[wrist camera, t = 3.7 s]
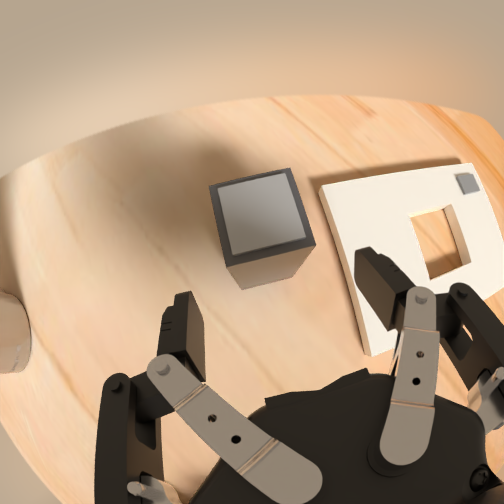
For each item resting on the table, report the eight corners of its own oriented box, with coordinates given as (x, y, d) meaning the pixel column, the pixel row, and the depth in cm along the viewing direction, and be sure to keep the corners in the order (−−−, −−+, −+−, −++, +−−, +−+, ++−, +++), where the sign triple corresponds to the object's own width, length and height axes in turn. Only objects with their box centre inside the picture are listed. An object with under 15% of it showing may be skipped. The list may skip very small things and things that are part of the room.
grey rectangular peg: (241, 289, 21) (225, 266, 11) (230, 241, 22) (207, 183, 12) (292, 277, 21) (317, 243, 11) (278, 229, 22) (290, 164, 12)
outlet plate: (364, 354, 19) (374, 357, 17) (318, 193, 22) (322, 183, 21) (504, 282, 20) (515, 279, 18) (465, 168, 23) (473, 161, 21)
